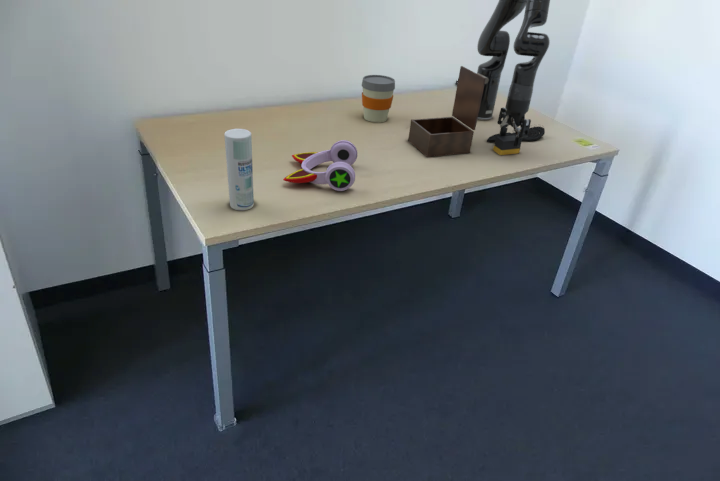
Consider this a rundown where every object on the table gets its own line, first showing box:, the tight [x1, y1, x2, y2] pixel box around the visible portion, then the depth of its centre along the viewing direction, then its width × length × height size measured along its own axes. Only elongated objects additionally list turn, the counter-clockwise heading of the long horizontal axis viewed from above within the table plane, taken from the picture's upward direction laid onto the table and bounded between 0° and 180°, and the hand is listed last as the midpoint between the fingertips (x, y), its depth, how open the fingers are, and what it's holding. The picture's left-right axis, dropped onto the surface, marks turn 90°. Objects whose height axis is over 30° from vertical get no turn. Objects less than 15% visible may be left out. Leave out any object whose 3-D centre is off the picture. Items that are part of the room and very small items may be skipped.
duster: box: [492, 135, 521, 156], centre depth 184 cm, size 8×4×5 cm, turn 111°
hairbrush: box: [486, 124, 546, 143], centre depth 196 cm, size 8×4×25 cm
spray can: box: [223, 128, 255, 211], centre depth 135 cm, size 6×6×20 cm
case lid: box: [451, 65, 489, 131], centre depth 179 cm, size 17×15×5 cm
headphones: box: [283, 139, 358, 192], centre depth 156 cm, size 20×10×20 cm
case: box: [407, 116, 475, 158], centre depth 182 cm, size 17×15×8 cm
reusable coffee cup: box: [361, 74, 396, 123], centre depth 201 cm, size 13×13×15 cm
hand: (509, 142), depth 183 cm, fingers open, 8 cm apart
